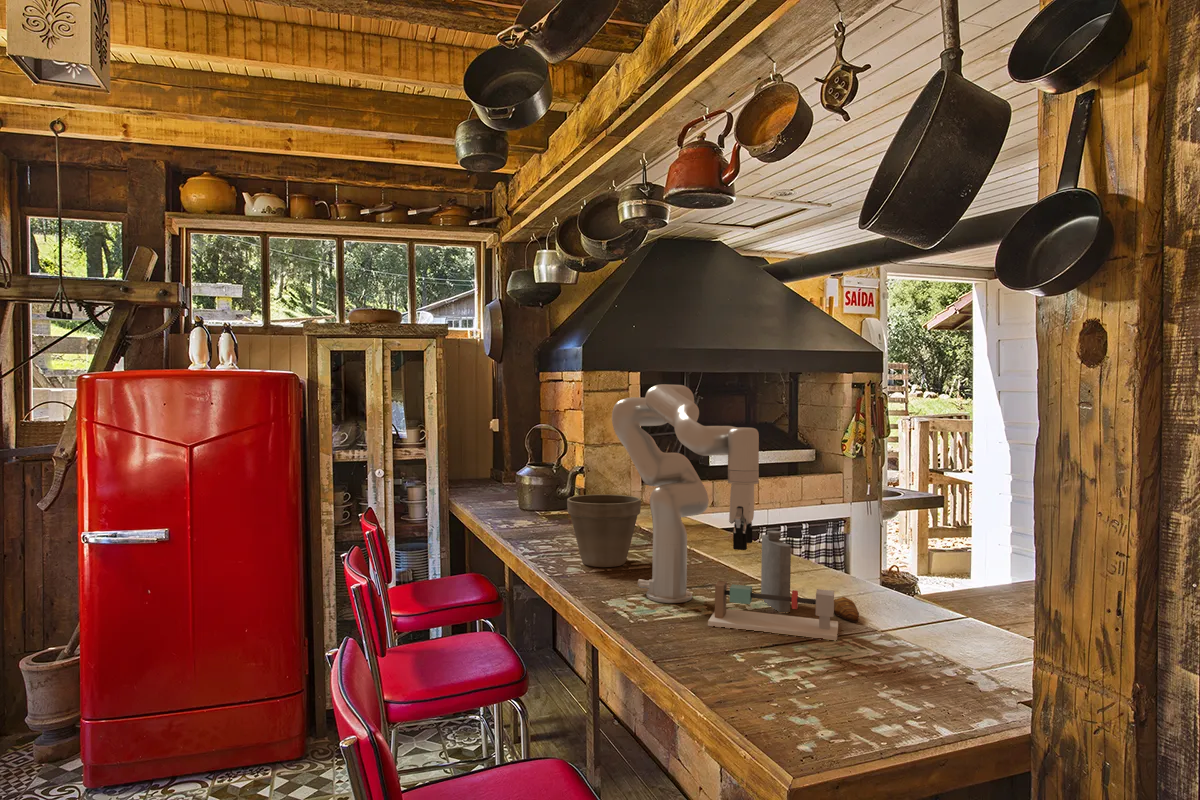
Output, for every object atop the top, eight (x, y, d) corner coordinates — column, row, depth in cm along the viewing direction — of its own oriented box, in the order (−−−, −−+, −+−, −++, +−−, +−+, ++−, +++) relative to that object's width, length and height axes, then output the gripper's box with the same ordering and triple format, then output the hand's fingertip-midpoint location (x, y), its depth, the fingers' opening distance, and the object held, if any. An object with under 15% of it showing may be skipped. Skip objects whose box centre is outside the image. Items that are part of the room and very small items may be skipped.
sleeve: (729, 602, 180) (729, 587, 180) (731, 598, 183) (732, 584, 183) (749, 604, 178) (750, 589, 178) (751, 600, 182) (752, 586, 182)
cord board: (707, 625, 178) (708, 587, 178) (716, 612, 189) (717, 575, 189) (836, 641, 168) (837, 600, 168) (838, 626, 179) (838, 587, 179)
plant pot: (555, 557, 250) (556, 494, 250) (619, 552, 260) (620, 491, 260) (584, 574, 227) (585, 505, 227) (653, 567, 238) (654, 501, 238)
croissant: (820, 608, 194) (820, 589, 194) (844, 608, 195) (844, 589, 195) (842, 624, 181) (842, 604, 181) (868, 623, 182) (868, 603, 182)
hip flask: (791, 613, 189) (793, 536, 189) (776, 613, 189) (777, 536, 189) (770, 596, 205) (771, 525, 205) (756, 596, 205) (757, 525, 204)
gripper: (733, 473, 190) (733, 539, 190) (722, 479, 174) (721, 551, 174) (762, 474, 188) (762, 541, 187) (753, 481, 171) (753, 553, 171)
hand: (743, 546), depth 181 cm, fingers open, 9 cm apart
